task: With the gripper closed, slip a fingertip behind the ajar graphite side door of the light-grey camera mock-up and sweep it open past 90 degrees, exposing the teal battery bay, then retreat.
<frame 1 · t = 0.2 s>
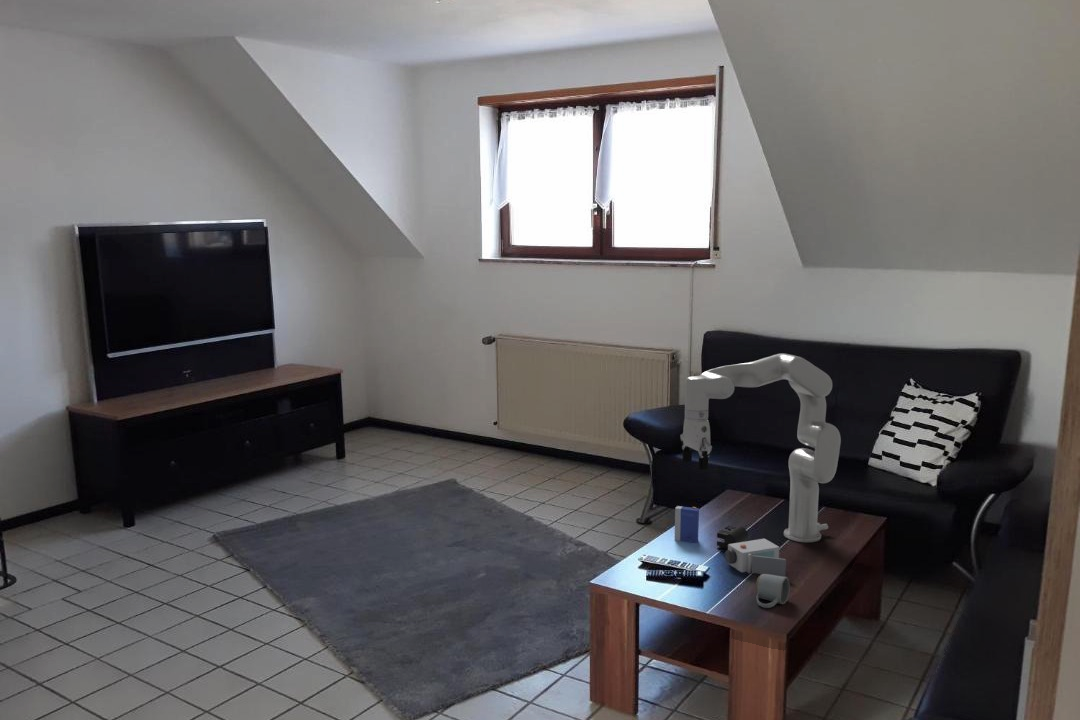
hand: (695, 465, 281), 31 cm above the table, fingers open, 9 cm apart
power tool battery: (732, 548, 292), on the table
side door: (766, 565, 269), point 3 cm above the table, hinge at 40.0°
walkman: (686, 540, 299), on the table
ceramic mug: (771, 602, 250), on the table
camera body: (752, 564, 277), on the table
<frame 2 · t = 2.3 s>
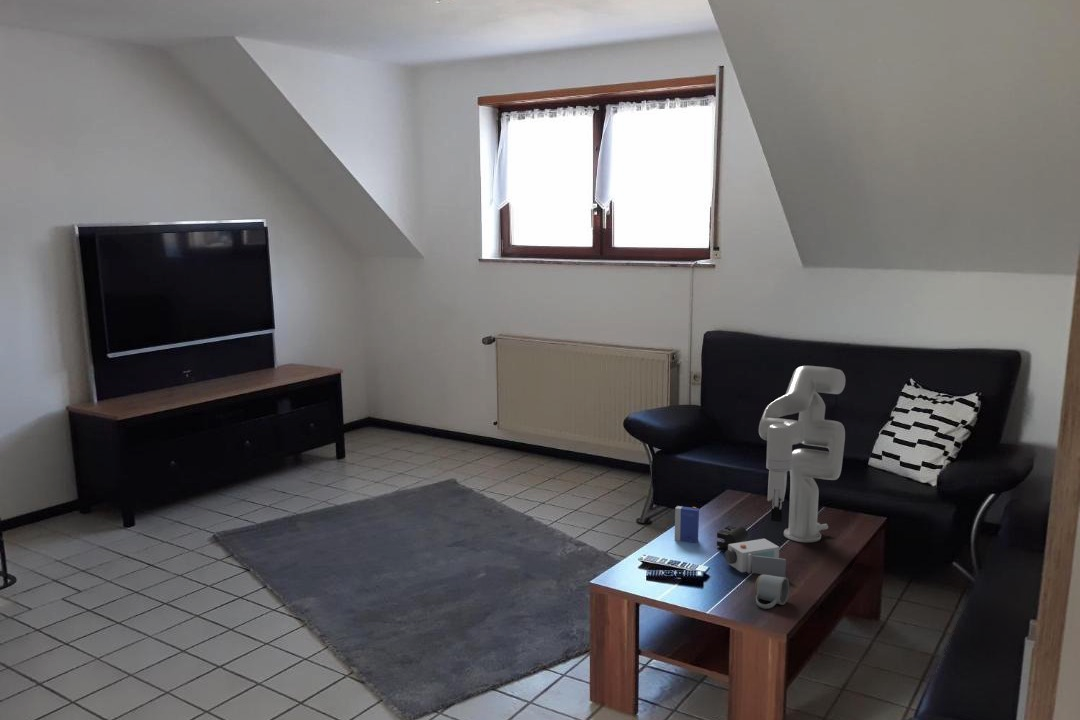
hand: (776, 520, 269), 17 cm above the table, fingers closed
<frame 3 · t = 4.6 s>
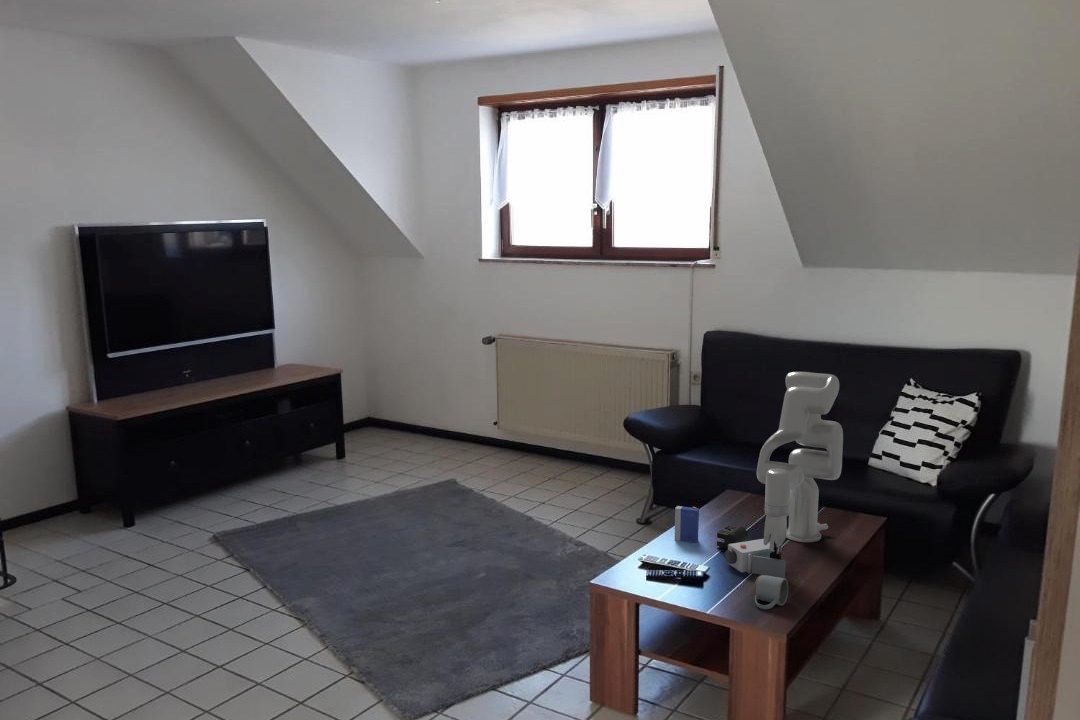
hand: (775, 564, 269), 3 cm above the table, fingers closed
side door: (766, 566, 268), point 3 cm above the table, hinge at 45.8°, touching gripper
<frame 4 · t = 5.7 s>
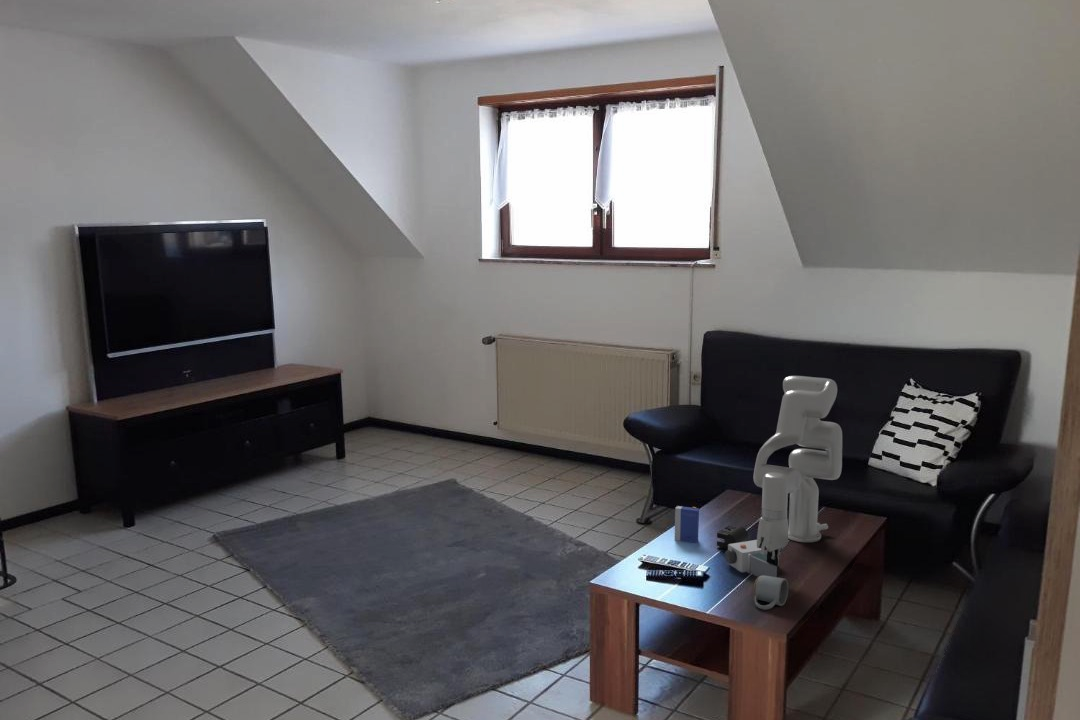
hand: (772, 569, 266), 3 cm above the table, fingers closed
side door: (761, 569, 266), point 3 cm above the table, hinge at 79.0°, touching gripper
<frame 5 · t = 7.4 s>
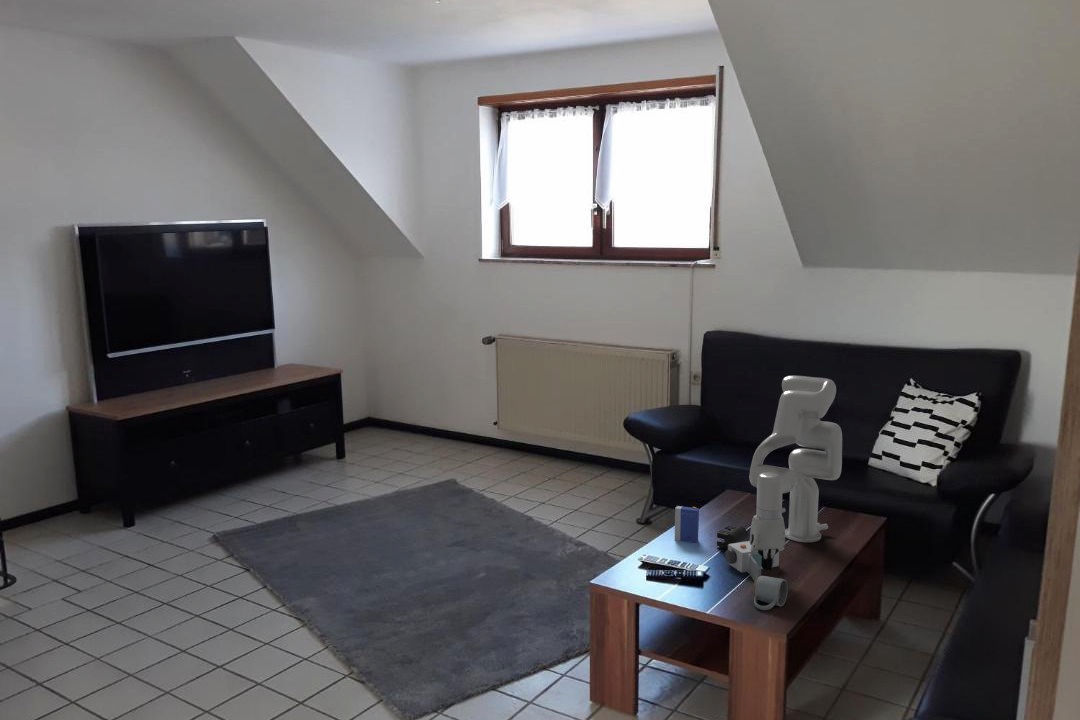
hand: (766, 569, 267), 3 cm above the table, fingers closed
side door: (754, 570, 265), point 3 cm above the table, hinge at 108.4°
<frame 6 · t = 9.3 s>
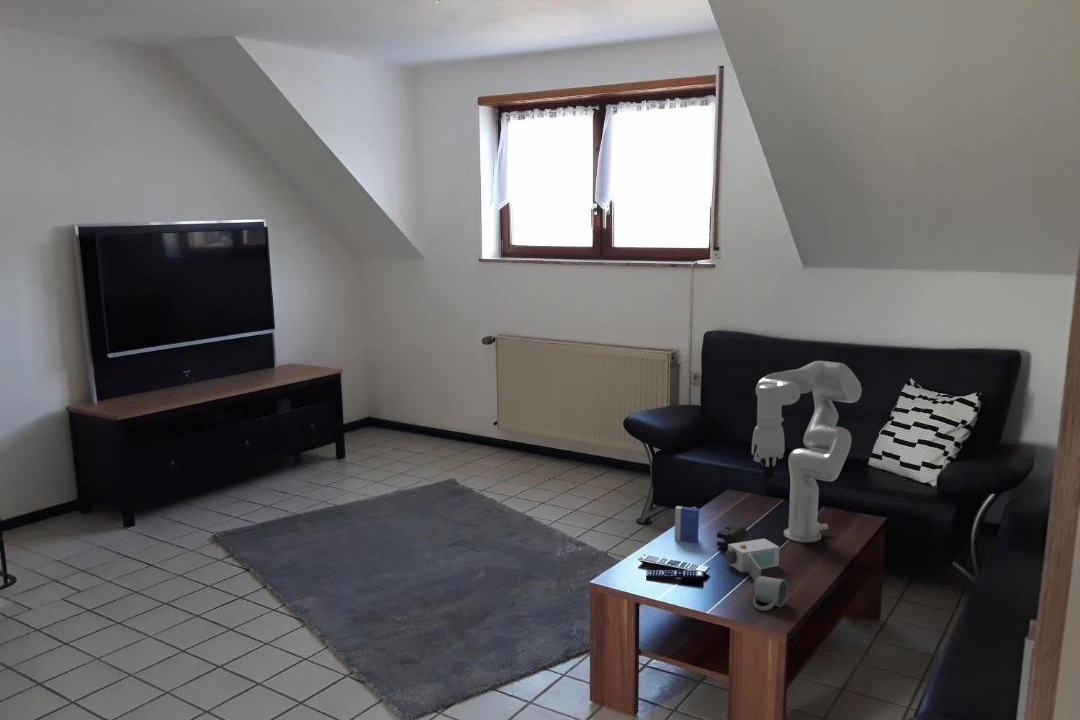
hand: (768, 476, 280), 27 cm above the table, fingers closed
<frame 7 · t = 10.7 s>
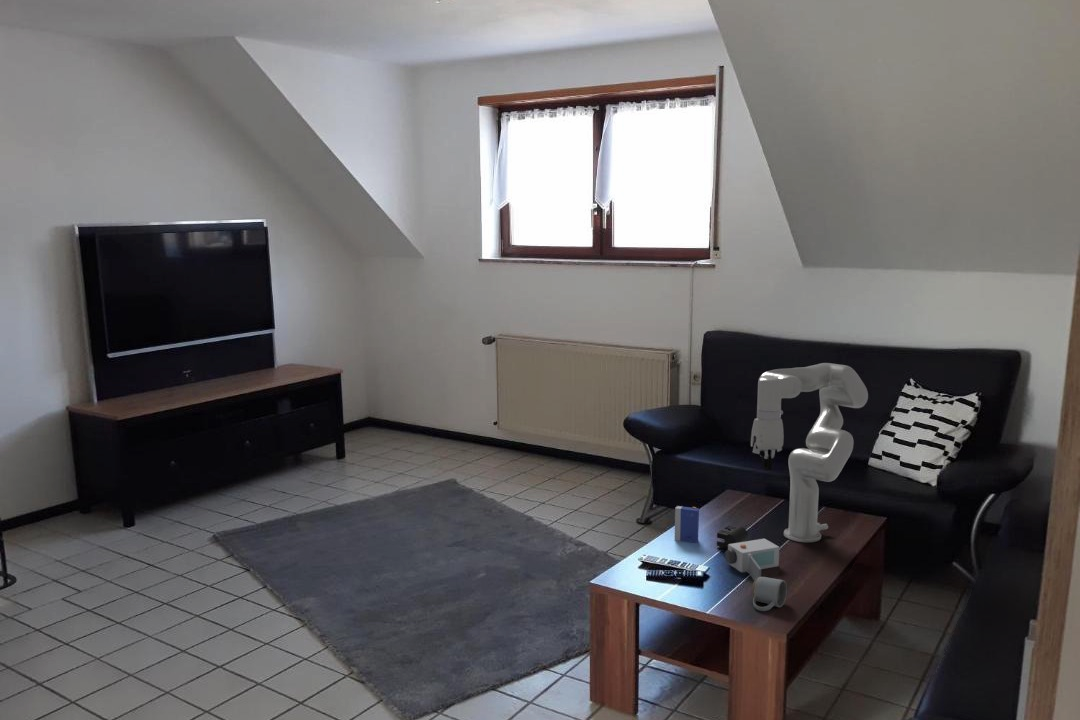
hand: (766, 469, 282), 29 cm above the table, fingers closed
at the end: side door at +108° (first picture: +40°) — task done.
